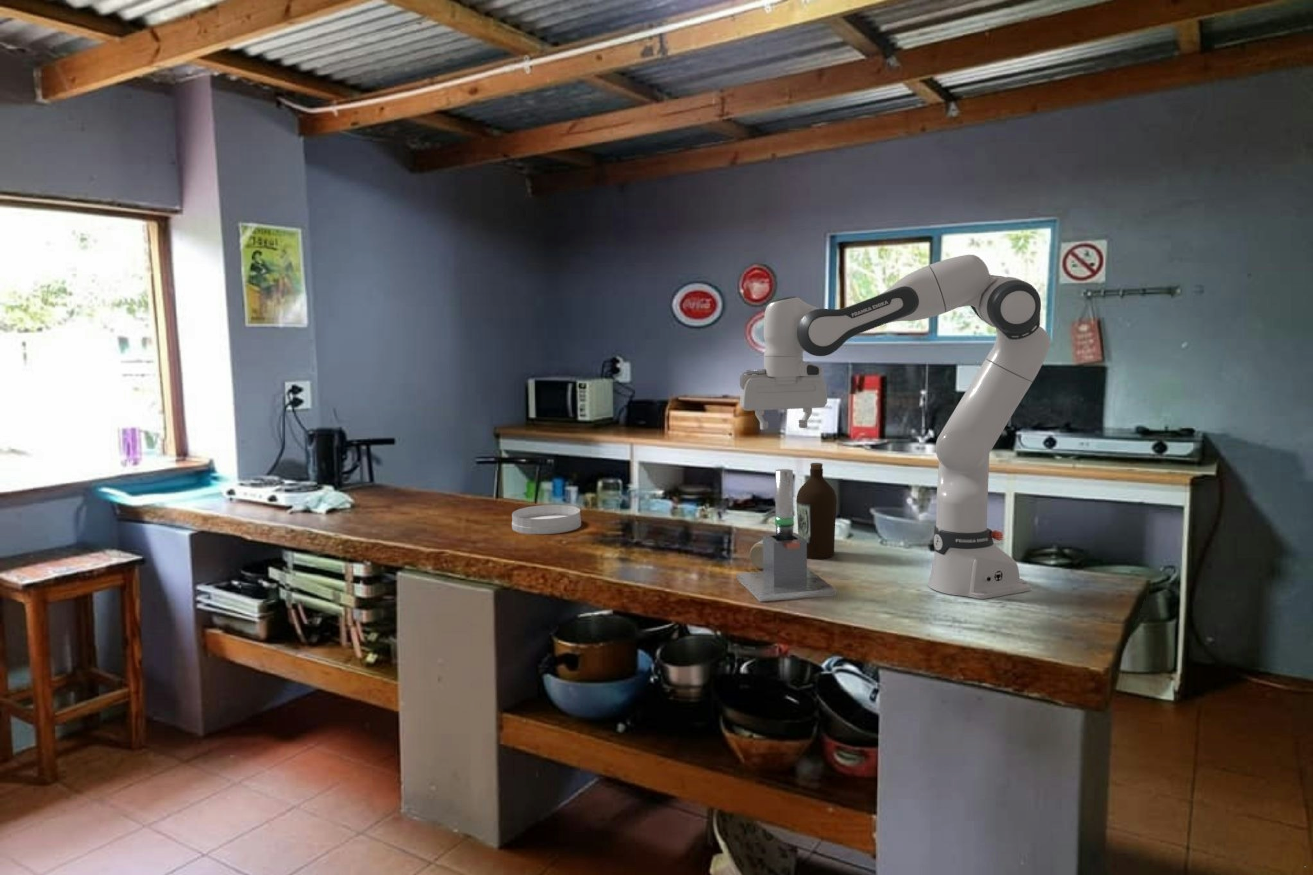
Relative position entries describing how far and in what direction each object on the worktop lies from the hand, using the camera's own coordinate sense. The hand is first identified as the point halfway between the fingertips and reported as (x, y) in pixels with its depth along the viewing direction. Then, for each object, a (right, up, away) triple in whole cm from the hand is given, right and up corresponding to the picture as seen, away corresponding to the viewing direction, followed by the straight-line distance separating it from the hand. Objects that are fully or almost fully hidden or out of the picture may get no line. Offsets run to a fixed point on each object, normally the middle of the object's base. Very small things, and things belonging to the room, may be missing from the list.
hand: (783, 428), depth 191 cm
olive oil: (+14, -34, +32) cm, 49 cm away
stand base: (+1, -38, +5) cm, 38 cm away
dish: (-65, -31, +74) cm, 103 cm away
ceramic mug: (+1, -36, +21) cm, 42 cm away
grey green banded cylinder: (+1, -28, +3) cm, 28 cm away
